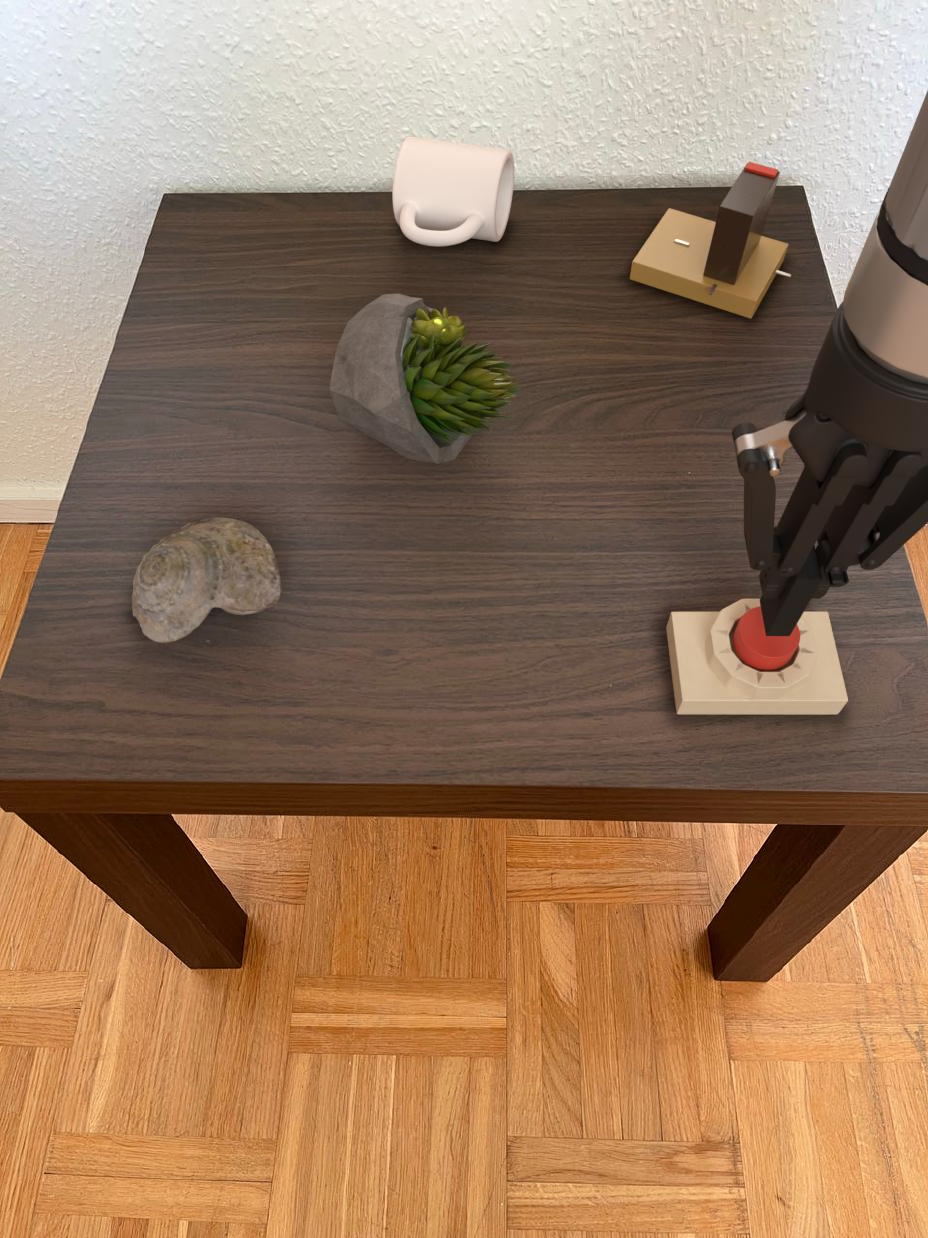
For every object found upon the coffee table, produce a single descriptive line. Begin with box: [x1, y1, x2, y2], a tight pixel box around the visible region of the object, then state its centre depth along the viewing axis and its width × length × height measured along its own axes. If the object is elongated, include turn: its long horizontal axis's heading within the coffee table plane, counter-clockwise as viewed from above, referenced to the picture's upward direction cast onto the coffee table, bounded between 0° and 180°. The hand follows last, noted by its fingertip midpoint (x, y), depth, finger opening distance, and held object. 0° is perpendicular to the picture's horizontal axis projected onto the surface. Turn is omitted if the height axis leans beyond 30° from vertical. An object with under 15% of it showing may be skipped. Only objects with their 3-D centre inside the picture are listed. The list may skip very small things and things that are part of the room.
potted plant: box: [328, 293, 522, 464], centre depth 72 cm, size 12×13×15 cm
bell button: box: [733, 606, 800, 670], centre depth 60 cm, size 4×4×2 cm
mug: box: [391, 135, 515, 247], centre depth 86 cm, size 12×10×8 cm
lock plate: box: [629, 207, 792, 320], centre depth 85 cm, size 14×11×2 cm
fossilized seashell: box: [131, 516, 283, 644], centre depth 66 cm, size 11×11×7 cm
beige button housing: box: [665, 598, 849, 716], centre depth 63 cm, size 11×7×4 cm, turn 89°
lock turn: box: [703, 161, 781, 285], centre depth 81 cm, size 7×3×7 cm, turn 152°
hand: (774, 617), depth 58 cm, fingers closed
